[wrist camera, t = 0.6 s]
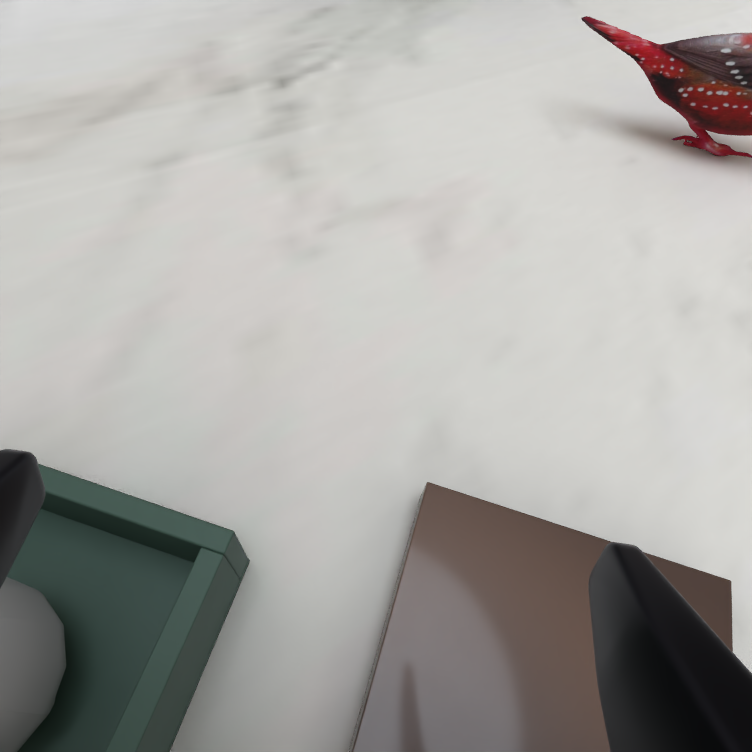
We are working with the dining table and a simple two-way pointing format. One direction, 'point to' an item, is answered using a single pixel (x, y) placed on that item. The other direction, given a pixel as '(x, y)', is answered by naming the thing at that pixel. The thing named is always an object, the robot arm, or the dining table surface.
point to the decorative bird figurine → (696, 80)
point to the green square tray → (125, 612)
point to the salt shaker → (27, 662)
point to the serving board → (498, 634)
